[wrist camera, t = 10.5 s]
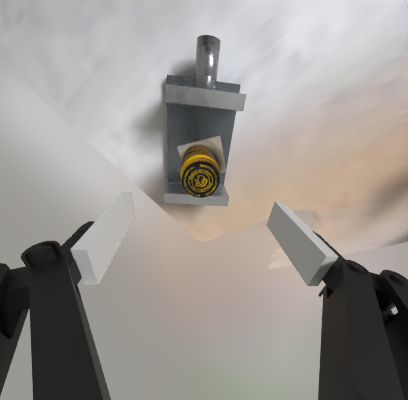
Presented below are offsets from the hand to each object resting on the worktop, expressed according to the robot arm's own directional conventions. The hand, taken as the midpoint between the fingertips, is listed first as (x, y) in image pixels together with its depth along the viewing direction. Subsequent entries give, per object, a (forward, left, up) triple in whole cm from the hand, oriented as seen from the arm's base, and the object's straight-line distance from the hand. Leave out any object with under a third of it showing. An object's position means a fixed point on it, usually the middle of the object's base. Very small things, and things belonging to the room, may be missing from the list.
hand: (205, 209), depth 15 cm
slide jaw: (-13, 0, -19) cm, 23 cm away
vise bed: (-3, 0, -20) cm, 21 cm away
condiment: (0, +1, -20) cm, 20 cm away
